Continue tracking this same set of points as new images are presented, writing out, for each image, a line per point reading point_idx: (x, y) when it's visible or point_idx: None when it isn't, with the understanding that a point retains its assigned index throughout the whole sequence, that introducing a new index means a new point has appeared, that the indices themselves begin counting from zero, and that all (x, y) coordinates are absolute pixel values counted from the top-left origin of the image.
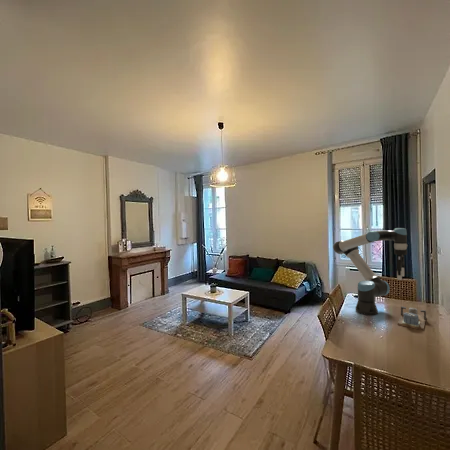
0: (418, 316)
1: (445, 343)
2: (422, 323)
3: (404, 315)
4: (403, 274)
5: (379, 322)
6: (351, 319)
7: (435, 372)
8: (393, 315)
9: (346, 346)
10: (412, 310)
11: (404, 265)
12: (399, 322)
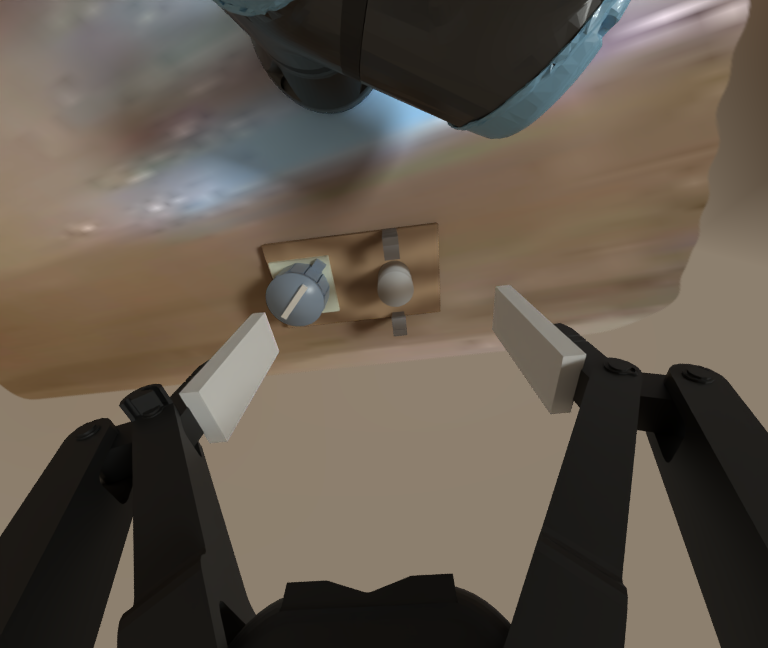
0: (415, 290)
1: None
2: (338, 316)
3: (273, 279)
4: (502, 335)
5: (221, 169)
6: (105, 4)
7: (50, 383)
8: (377, 193)
9: None
10: (377, 290)
11: (659, 435)
12: (274, 250)
